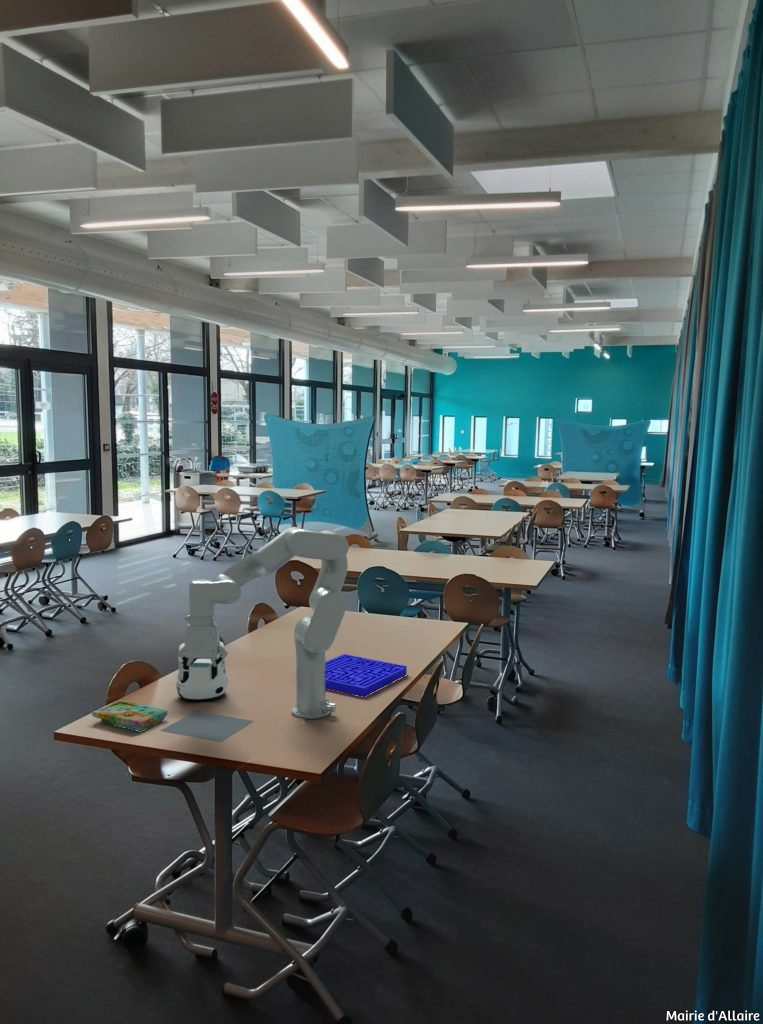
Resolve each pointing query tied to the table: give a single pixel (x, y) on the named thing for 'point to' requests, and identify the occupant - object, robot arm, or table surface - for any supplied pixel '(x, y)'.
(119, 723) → the puzzle game
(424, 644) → the table surface
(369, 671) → the maze
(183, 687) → the milk container
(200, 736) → the mat
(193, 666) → the card box
